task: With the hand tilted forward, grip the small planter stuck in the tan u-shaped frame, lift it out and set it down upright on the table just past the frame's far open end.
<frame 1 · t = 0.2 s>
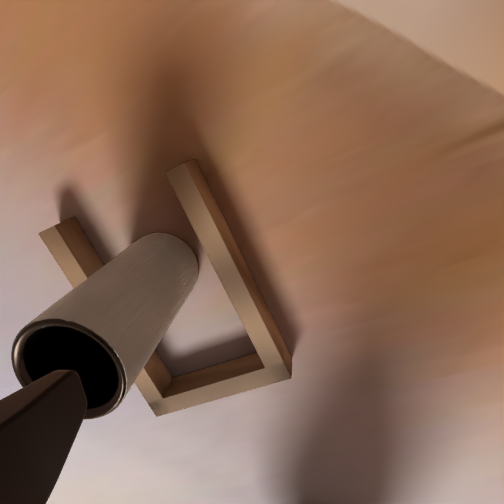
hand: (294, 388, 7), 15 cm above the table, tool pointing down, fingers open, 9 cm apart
planter: (165, 264, 23), on the table
tan u-shaped frame: (178, 292, 24), on the table
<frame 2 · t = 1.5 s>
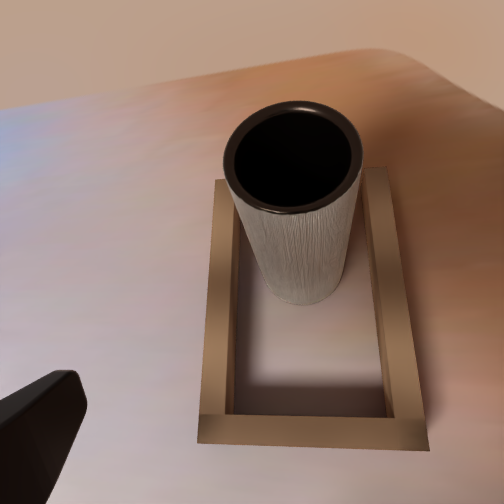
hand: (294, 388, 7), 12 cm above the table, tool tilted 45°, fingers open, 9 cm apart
planter: (302, 268, 21), on the table
tan u-shaped frame: (303, 300, 20), on the table
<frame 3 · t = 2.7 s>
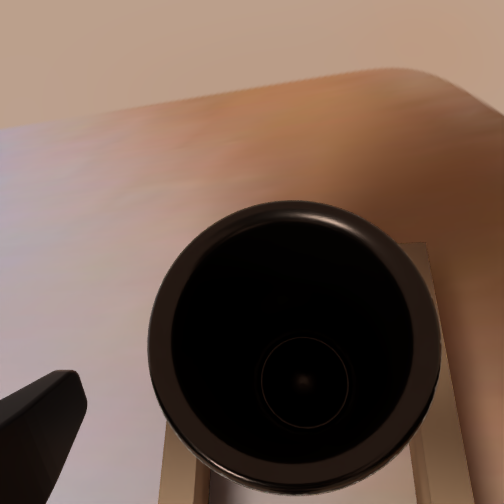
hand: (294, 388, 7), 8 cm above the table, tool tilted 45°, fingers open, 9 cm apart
planter: (304, 382, 15), on the table
tan u-shaped frame: (306, 436, 14), on the table
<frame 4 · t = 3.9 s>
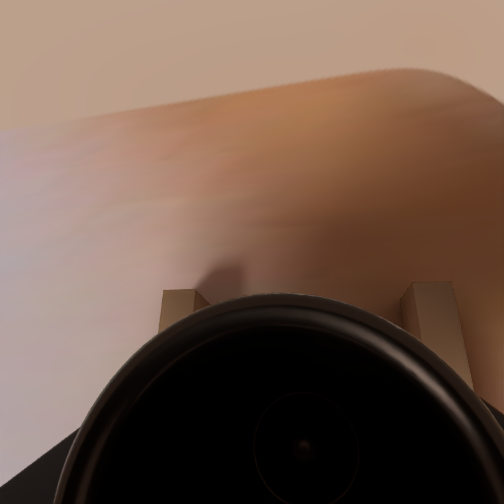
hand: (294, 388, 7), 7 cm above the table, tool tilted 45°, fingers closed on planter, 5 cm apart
planter: (305, 445, 13), on the table, touching gripper
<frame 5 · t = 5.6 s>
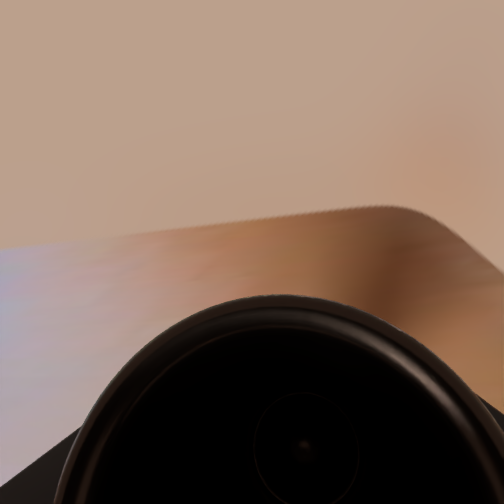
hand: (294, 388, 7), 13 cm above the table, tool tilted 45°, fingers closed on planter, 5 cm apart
planter: (305, 445, 13), point 6 cm above the table, touching gripper
when the fingers open (7 cm above the table, at t = 7.6 s): planter stays where it is, on the table.
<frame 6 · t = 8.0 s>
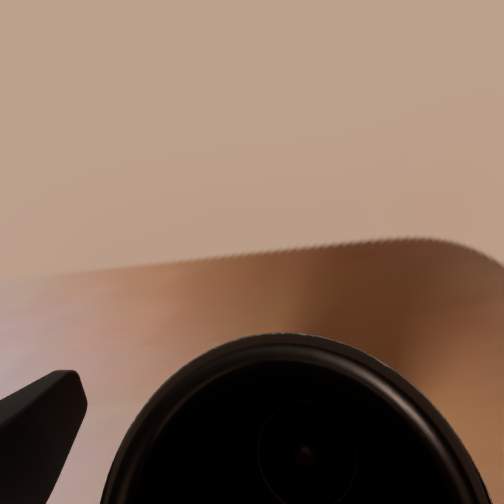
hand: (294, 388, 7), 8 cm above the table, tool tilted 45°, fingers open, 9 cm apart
planter: (306, 450, 13), on the table
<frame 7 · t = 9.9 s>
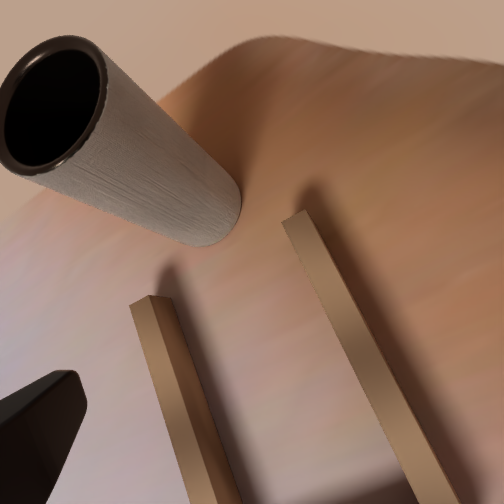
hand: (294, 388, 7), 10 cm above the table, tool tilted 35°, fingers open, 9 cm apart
planter: (205, 208, 21), on the table
tan u-shaped frame: (284, 401, 17), on the table
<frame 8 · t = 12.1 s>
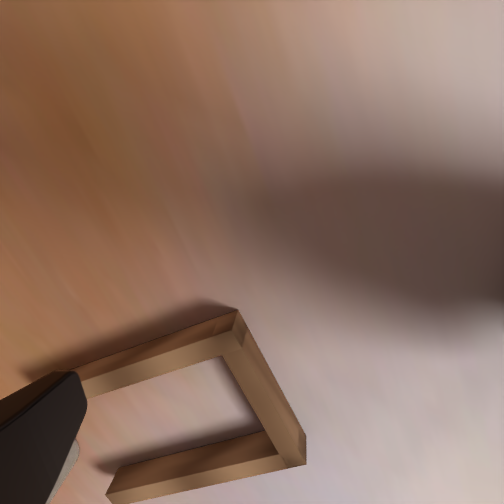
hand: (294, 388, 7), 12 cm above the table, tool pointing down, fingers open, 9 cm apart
planter: (52, 440, 27), on the table
tan u-shaped frame: (175, 406, 24), on the table
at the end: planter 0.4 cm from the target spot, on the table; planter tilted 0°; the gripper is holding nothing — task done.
